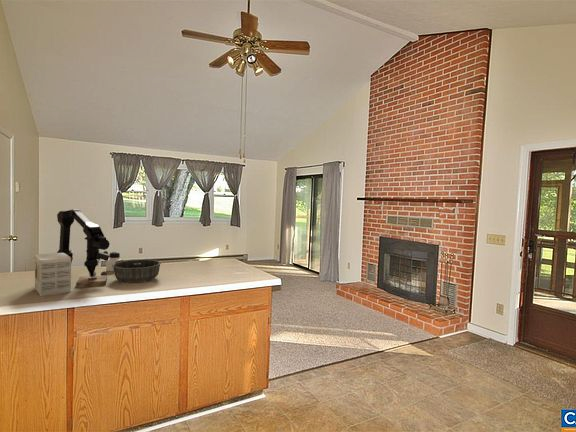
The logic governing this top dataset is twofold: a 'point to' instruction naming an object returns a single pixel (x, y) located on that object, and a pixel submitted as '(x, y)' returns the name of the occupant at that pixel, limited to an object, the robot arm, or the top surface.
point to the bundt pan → (136, 270)
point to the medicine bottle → (113, 261)
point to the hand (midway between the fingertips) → (92, 275)
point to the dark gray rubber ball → (103, 273)
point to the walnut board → (91, 281)
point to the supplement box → (52, 273)
